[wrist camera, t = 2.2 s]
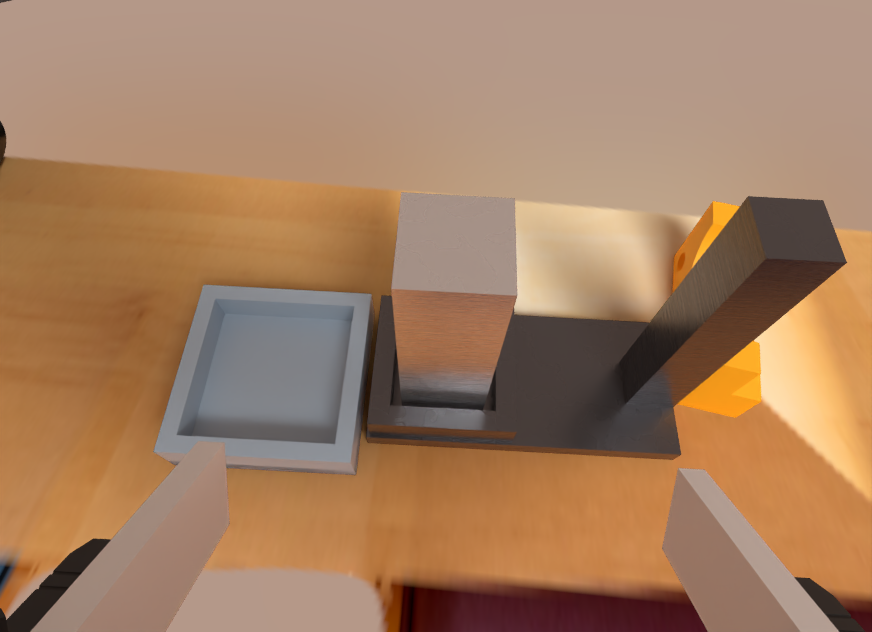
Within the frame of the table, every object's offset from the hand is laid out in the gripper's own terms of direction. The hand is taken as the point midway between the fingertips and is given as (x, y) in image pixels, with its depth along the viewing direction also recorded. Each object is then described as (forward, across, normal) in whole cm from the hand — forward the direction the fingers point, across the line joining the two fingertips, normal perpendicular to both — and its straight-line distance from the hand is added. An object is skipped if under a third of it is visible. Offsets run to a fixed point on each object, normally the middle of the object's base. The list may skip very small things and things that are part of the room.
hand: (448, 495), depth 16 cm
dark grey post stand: (+20, +5, -5) cm, 21 cm away
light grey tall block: (+19, 0, -4) cm, 19 cm away
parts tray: (+19, -10, -5) cm, 22 cm away
